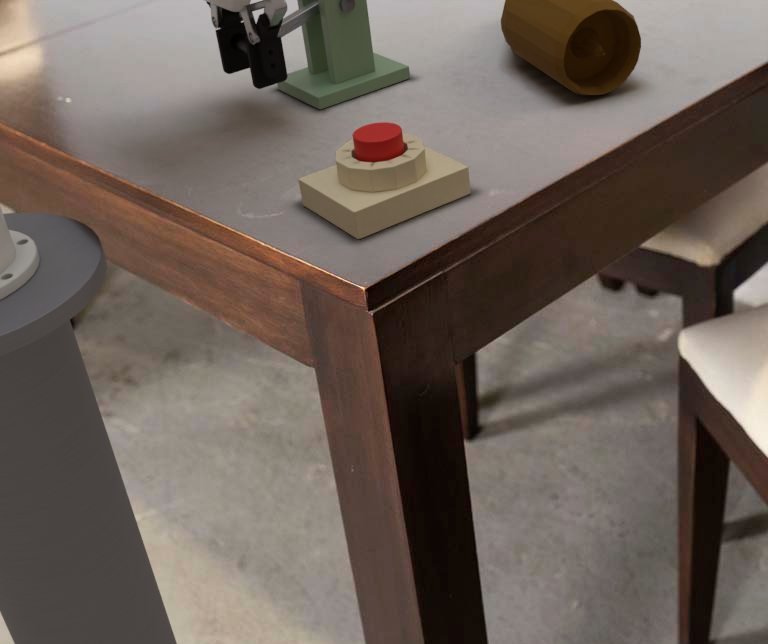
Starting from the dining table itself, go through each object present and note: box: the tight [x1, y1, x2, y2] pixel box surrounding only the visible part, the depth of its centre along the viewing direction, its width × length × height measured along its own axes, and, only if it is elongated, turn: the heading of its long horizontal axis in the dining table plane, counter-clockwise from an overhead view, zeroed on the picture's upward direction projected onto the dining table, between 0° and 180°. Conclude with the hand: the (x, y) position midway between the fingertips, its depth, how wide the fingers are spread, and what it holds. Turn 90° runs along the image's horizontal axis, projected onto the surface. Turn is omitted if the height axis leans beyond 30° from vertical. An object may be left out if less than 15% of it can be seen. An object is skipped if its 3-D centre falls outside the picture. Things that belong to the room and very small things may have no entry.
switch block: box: [298, 132, 471, 240], centre depth 82 cm, size 10×8×4 cm
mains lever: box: [231, 0, 321, 54], centre depth 99 cm, size 11×5×2 cm, turn 124°
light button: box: [352, 121, 404, 163], centre depth 81 cm, size 4×4×2 cm
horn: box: [500, 0, 642, 96], centre depth 102 cm, size 8×10×25 cm
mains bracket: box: [276, 0, 411, 110], centre depth 102 cm, size 10×8×10 cm
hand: (255, 74), depth 99 cm, fingers closed on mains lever, 5 cm apart
